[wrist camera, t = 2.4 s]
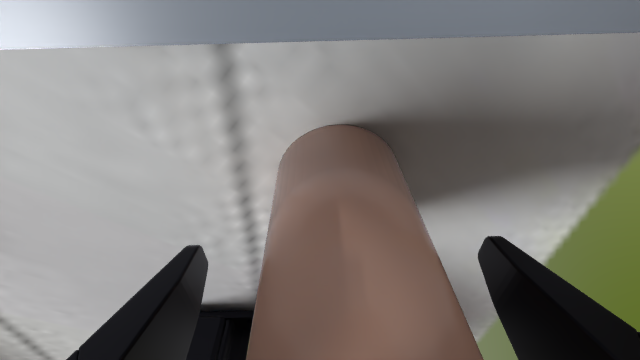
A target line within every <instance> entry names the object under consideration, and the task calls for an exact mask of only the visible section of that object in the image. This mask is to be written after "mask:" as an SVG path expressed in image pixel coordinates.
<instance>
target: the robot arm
mask: <svg viewBox="0 0 640 360" xmlns="http://www.w3.org/2000/svg"><path fill="white" fill-rule="evenodd" d="M478 260H479V263H480V266H481V269H482V272H483V275H484V278H485V281H486V284H487V287H488V290H489V293H490V296H491V299H492V302H493V304H494V307H495V309H496V311H497V314H498V316H499V318H500V320H501V322H502V325H503V327H504V329H505V331H506V333H507V336H508V338H509V340H510V342H511V344H512V346H513V349H514V351H515V353H516V355H517V357H518V360H640V332H637V331H636V329H634V328H633V327H631V326H630V325H629V324H627V323H626V322H624V321H623V320H621V319H620V318H619V317H617V316H616V315H614V314H613V313H611V312H610V311H608V310H607V309H605V308H604V307H603V306H601V305H600V304H598V303H597V302H595V301H594V300H593V299H591V298H590V297H588V296H587V295H585V294H584V293H582V292H581V291H580V290H578V289H577V288H575V287H574V286H572V285H571V284H570V283H568V282H567V281H565V280H564V279H562V278H561V277H559V276H558V275H557V274H555V273H553V272H552V271H550V270H549V269H548V268H546V267H545V266H544V265H542V264H541V263H539V262H538V261H536V260H535V259H533V258H532V257H531V256H529V255H528V254H526V253H525V252H523V251H522V250H520V249H519V248H518V247H516V246H515V245H513V244H512V243H510V242H509V241H507V240H506V239H505V238H503V237H501V236H488V237H486V238H485V240H484V242H483V244H482V246H481V248H480V250H479V252H478ZM207 271H208V261H207V258H206V256H205V253H204V251H203V248H202V247H201V246H200V245H189V246H186V247H185V248H184V249H183V250H182V251H181V252H180V253H178V254H177V255H176V256H175V257H174V258H173V259H172V260H171V261H170V262H169V263H168V264H167V265H166V266H165V267H164V268H163V269H162V270H161V271H159V272H158V273H157V274H156V275H155V276H154V277H153V278H152V279H151V280H150V281H149V282H148V283H147V284H146V285H145V286H144V287H143V288H142V289H140V290H139V291H138V292H137V293H136V294H135V295H134V296H133V297H132V298H131V299H130V300H129V301H128V302H127V303H126V304H125V305H124V306H123V307H121V308H120V309H119V310H118V311H117V312H116V313H115V314H114V315H113V316H112V317H111V318H110V319H109V320H108V321H107V322H106V323H105V324H104V325H102V326H101V327H100V328H99V329H98V330H97V331H96V332H95V333H94V334H93V335H92V336H91V337H90V338H89V339H88V340H87V341H86V342H85V343H83V344H82V345H81V346H80V347H79V350H76V351H75V352H74V353H73V354H72V355H71V356H70V357H69V358H67V359H66V360H246V357H247V351H248V345H249V339H250V333H251V327H252V321H253V315H254V311H228V312H200V308H201V303H202V297H203V292H204V287H205V281H206V276H207Z"/></svg>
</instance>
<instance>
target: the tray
mask: <svg viewBox="0 0 640 360" xmlns="http://www.w3.org/2000/svg"><path fill="white" fill-rule="evenodd" d="M636 32H640V0H0V50H5V49H42V48H79V47H116V46H153V45H190V44H227V43H264V42H302V41H339V40H376V39H413V38H450V37H487V36H524V35H561V34H599V33H636Z"/></svg>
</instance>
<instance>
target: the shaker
mask: <svg viewBox="0 0 640 360" xmlns="http://www.w3.org/2000/svg"><path fill="white" fill-rule="evenodd" d="M246 360H483V357H482V355H481V353H480V351H479V348H478V346H477V344H476V341H475V339H474V337H473V334H472V332H471V330H470V327H469V325H468V323H467V321H466V318H465V316H464V314H463V311H462V309H461V307H460V305H459V302H458V300H457V298H456V295H455V293H454V291H453V288H452V286H451V284H450V282H449V279H448V277H447V275H446V272H445V270H444V268H443V266H442V263H441V261H440V259H439V256H438V254H437V252H436V250H435V247H434V245H433V243H432V240H431V238H430V236H429V233H428V231H427V229H426V227H425V224H424V222H423V220H422V217H421V215H420V213H419V211H418V208H417V206H416V204H415V201H414V199H413V197H412V194H411V192H410V190H409V188H408V185H407V183H406V181H405V178H404V176H403V174H402V172H401V169H400V167H399V165H398V162H397V160H396V158H395V156H394V153H393V151H392V150H391V148H390V147H389V145H388V144H387V143H386V142H385V141H384V140H383V139H382V138H380V137H379V136H378V135H376V134H374V133H373V132H371V131H369V130H366V129H364V128H360V127H357V126H351V125H330V126H325V127H321V128H318V129H315V130H312V131H310V132H308V133H306V134H304V135H303V136H301V137H300V138H298V139H297V140H296V141H295V142H293V143H292V144H291V145H290V147H289V148H288V149H287V150H286V152H285V153H284V155H283V157H282V159H281V161H280V164H279V168H278V173H277V179H276V185H275V191H274V197H273V203H272V209H271V215H270V221H269V227H268V233H267V238H266V244H265V250H264V256H263V262H262V268H261V274H260V280H259V286H258V292H257V298H256V303H255V309H254V315H253V321H252V327H251V333H250V339H249V345H248V351H247V357H246Z"/></svg>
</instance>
